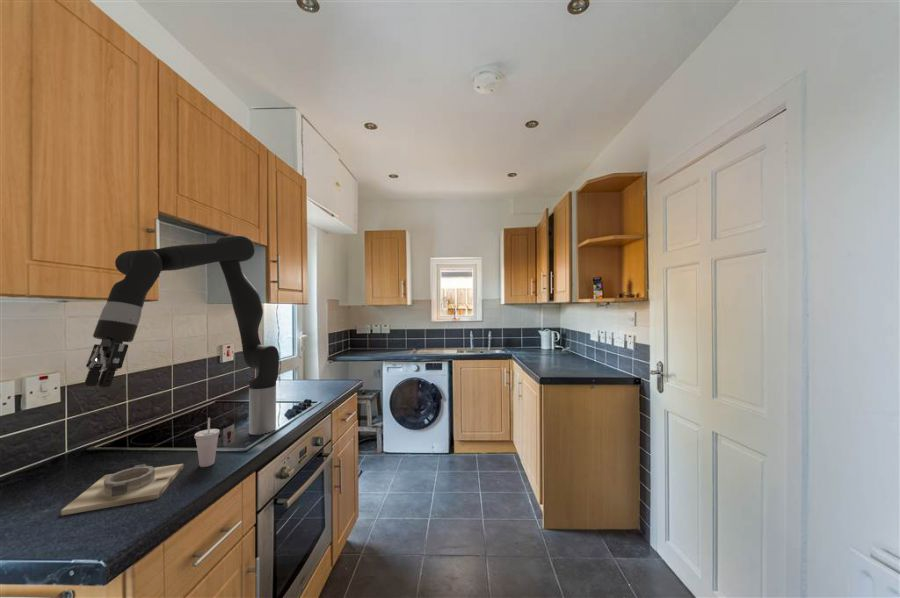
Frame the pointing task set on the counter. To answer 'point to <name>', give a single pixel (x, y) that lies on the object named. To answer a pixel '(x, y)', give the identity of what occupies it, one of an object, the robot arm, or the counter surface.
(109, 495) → the holder
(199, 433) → the smoothie
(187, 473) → the counter surface
